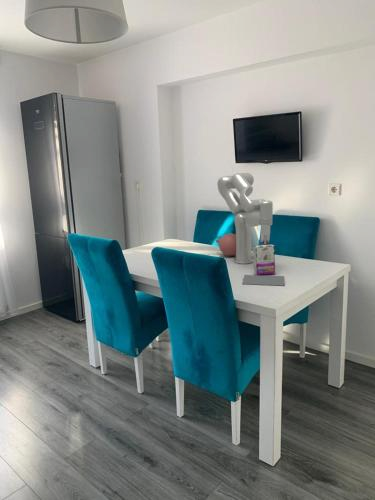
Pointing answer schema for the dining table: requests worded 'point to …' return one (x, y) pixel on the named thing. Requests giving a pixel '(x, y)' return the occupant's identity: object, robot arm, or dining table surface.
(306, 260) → the dining table surface
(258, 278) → the rubber mat
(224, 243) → the balloon
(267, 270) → the candy bar box
